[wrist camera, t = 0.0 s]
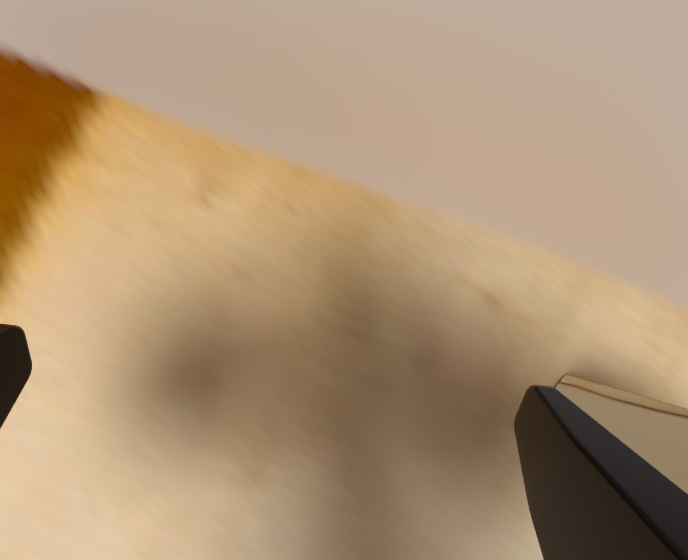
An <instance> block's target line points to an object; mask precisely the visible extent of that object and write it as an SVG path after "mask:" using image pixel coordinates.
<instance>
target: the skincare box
mask: <svg viewBox="0 0 688 560" xmlns="http://www.w3.org/2000/svg"><path fill="white" fill-rule="evenodd" d="M555 389H557V390H558V391H559V392H561V393H562V394H563V395H564V396H566V397H567V398H568V399H569V400H571V401H572V402H573V403H574V404H576V405H577V406H578V407H579V408H581V409H582V410H583V411H584V412H586V413H587V414H588V415H589V416H591V417H592V418H593V419H594V420H596V421H597V422H598V423H599V424H601V425H602V426H603V427H604V428H606V429H607V430H608V431H609V432H611V433H612V434H613V435H614V436H616V437H617V438H618V439H619V440H621V441H622V442H623V443H624V444H626V445H627V446H628V447H629V448H631V449H632V450H633V451H634V452H636V453H637V454H638V455H639V456H641V457H642V458H643V459H644V460H646V461H647V462H648V463H649V464H651V465H652V466H653V467H654V468H656V469H657V470H658V471H659V472H661V473H662V474H663V475H664V476H666V477H667V478H668V479H669V480H671V481H672V482H673V483H674V484H676V485H677V486H678V487H679V488H681V489H682V490H683V491H684V492H686V493H687V494H688V409H685V408H682V407H678V406H675V405H672V404H668V403H665V402H661V401H658V400H655V399H651V398H648V397H644V396H641V395H637V394H634V393H630V392H627V391H623V390H620V389H616V388H613V387H609V386H606V385H603V384H598V383H595V382H592V381H588V380H585V379H581V378H577V377H574V376H570V375H565V376H564V377H563V378H562V379H561V381H560V382H559V383H558V385H557V386H556V387H555Z"/></svg>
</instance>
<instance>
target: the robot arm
mask: <svg viewBox="0 0 688 560" xmlns="http://www.w3.org/2000/svg"><path fill="white" fill-rule="evenodd" d="M31 370H32V361H31V357H30V353H29V349H28V344H27V340H26V336H25V333H24V331H23V329H22V328H21V327H19V326H16V325H8V324H0V428H1V427H2V425H3V423H4V421H5V420H6V418H7V416H8V414H9V412H10V411H11V409H12V407H13V405H14V404H15V402H16V400H17V398H18V396H19V395H20V393H21V391H22V389H23V387H24V386H25V384H26V382H27V380H28V379H29V376H30V374H31ZM514 430H515V436H516V441H517V447H518V452H519V457H520V463H521V468H522V474H523V479H524V485H525V490H526V496H527V500H528V505H529V510H530V514H531V517H532V521H533V525H534V528H535V531H536V535H537V538H538V541H539V545H540V548H541V552H542V555H543V558H544V560H688V494H687V493H686V492H684V491H683V490H682V489H681V488H679V487H678V486H677V485H676V484H674V483H673V482H672V481H671V480H669V479H668V478H667V477H666V476H664V475H663V474H662V473H661V472H659V471H658V470H657V469H656V468H654V467H653V466H652V465H651V464H649V463H648V462H647V461H646V460H644V459H643V458H642V457H641V456H639V455H638V454H637V453H636V452H634V451H633V450H632V449H631V448H629V447H628V446H627V445H626V444H624V443H623V442H622V441H621V440H619V439H618V438H617V437H616V436H614V435H613V434H612V433H611V432H609V431H608V430H607V429H606V428H604V427H603V426H602V425H601V424H599V423H598V422H597V421H596V420H594V419H593V418H592V417H591V416H589V415H588V414H587V413H586V412H584V411H583V410H582V409H581V408H579V407H578V406H577V405H576V404H574V403H573V402H572V401H571V400H569V399H568V398H567V397H566V396H564V395H563V394H562V393H561V392H559V391H558V390H557V389H555V388H553V387H550V386H541V385H531V386H530V387H529V388H528V389H527V391H526V393H525V395H524V398H523V400H522V402H521V405H520V407H519V409H518V412H517V414H516V417H515V422H514Z"/></svg>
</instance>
